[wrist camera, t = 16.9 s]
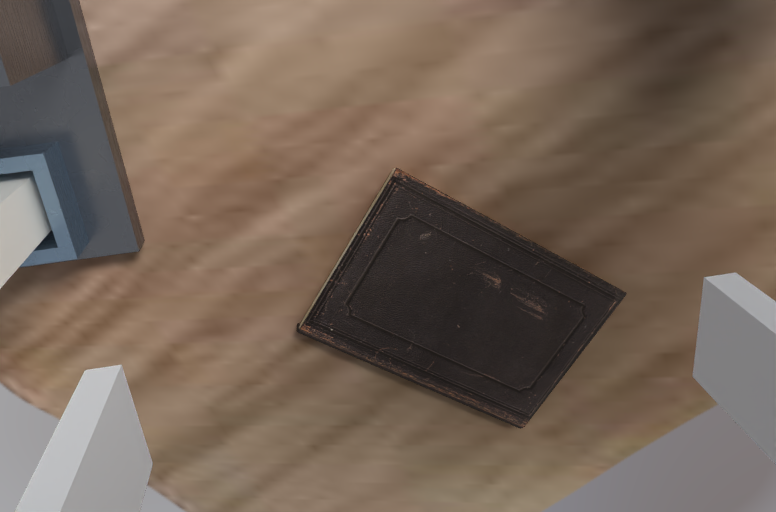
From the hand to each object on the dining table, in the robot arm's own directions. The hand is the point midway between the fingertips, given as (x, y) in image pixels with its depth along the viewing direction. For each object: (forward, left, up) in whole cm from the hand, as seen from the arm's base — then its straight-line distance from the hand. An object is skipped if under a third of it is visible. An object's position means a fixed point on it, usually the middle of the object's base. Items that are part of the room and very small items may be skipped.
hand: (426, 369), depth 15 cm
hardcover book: (+20, +8, -38) cm, 43 cm away
